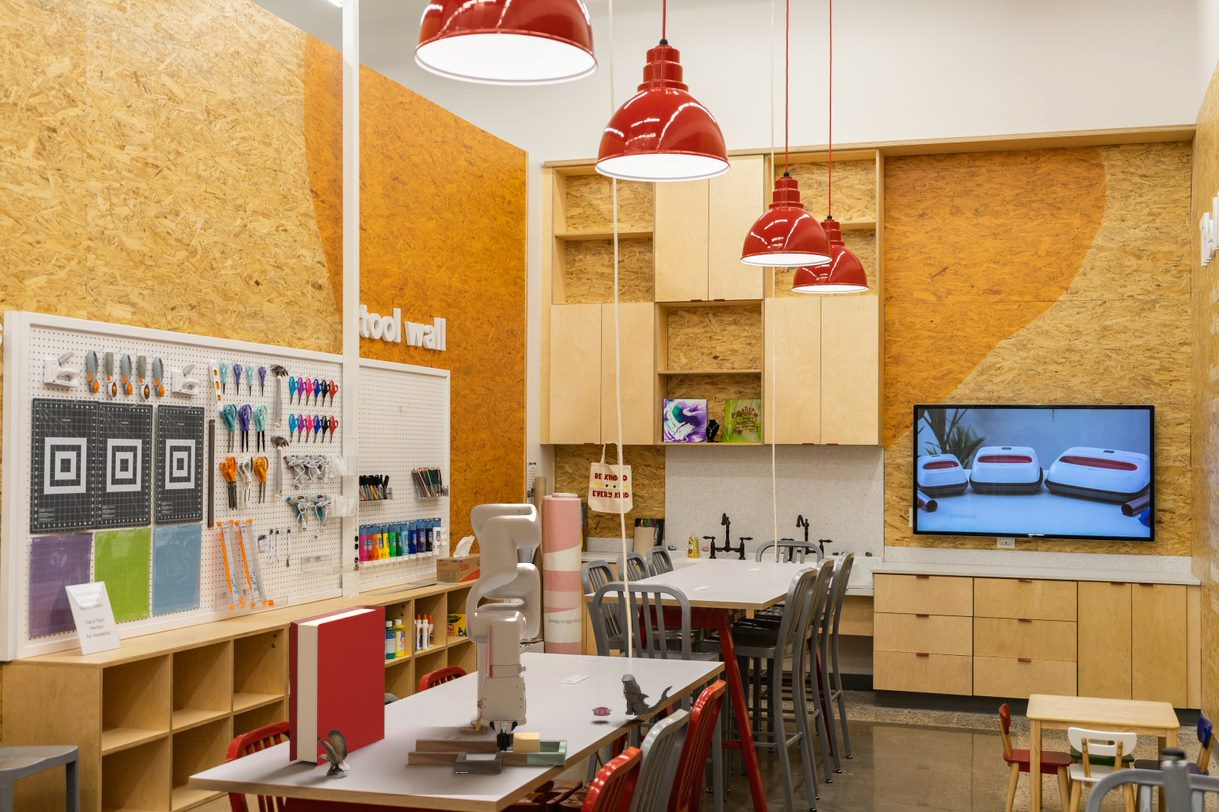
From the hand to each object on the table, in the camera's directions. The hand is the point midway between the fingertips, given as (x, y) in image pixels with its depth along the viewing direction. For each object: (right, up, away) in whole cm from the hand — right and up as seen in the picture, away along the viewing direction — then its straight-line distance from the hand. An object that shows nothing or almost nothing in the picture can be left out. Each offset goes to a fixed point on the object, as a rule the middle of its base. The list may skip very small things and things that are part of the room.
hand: (503, 749), depth 277 cm
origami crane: (-8, -3, +19) cm, 21 cm away
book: (-39, -2, +7) cm, 40 cm away
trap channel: (-3, -2, 0) cm, 4 cm away
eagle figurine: (-36, -2, -13) cm, 38 cm away
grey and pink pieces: (+30, -3, +41) cm, 51 cm away
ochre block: (+5, -2, 0) cm, 6 cm away
